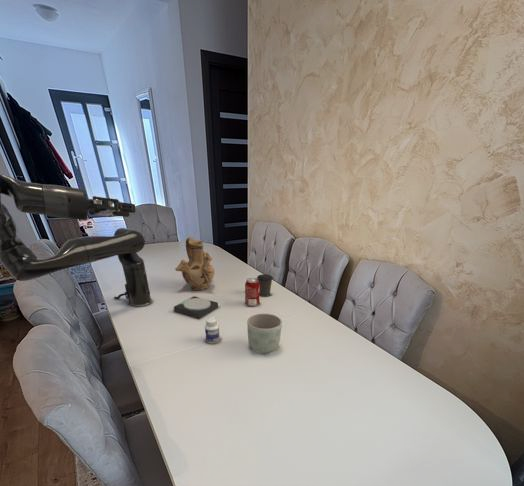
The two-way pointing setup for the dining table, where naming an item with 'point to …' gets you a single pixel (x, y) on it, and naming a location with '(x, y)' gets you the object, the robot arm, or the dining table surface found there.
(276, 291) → the dining table surface
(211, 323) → the pill bottle
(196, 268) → the ceramic vessel
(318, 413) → the dining table surface
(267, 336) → the planter
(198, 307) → the scale
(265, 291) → the coffee cup
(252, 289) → the soda can
